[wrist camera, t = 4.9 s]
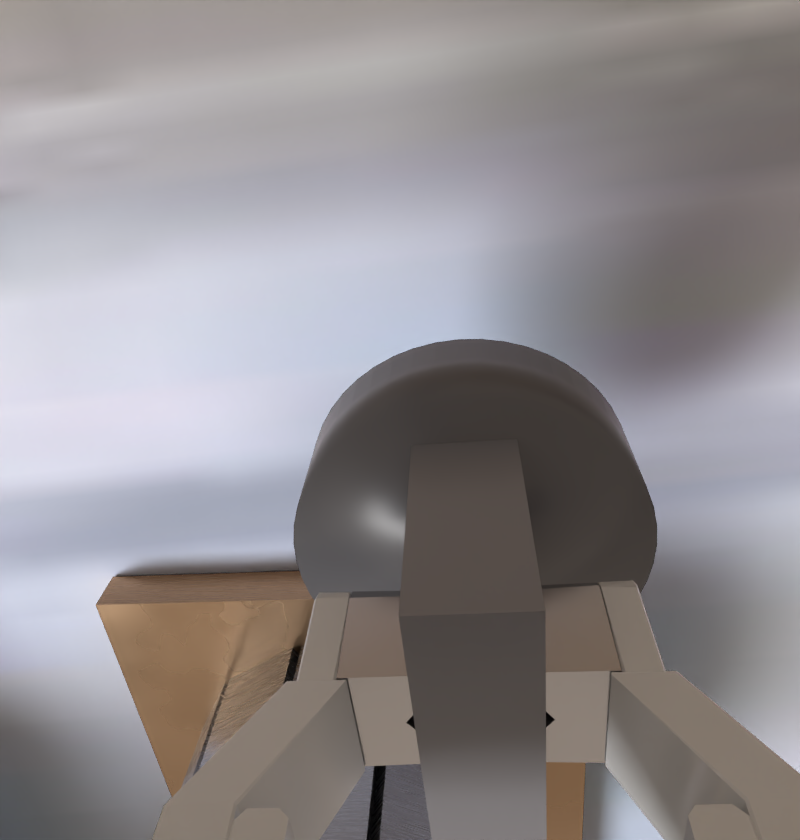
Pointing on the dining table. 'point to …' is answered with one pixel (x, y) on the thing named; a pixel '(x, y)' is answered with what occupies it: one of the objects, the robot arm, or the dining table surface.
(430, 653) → the rotary knob
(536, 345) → the dining table surface
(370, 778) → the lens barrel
